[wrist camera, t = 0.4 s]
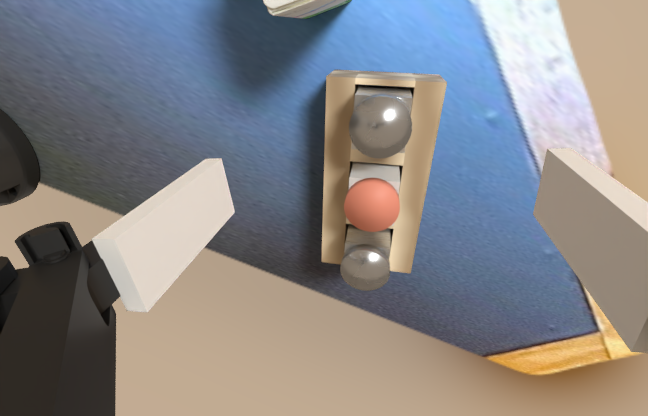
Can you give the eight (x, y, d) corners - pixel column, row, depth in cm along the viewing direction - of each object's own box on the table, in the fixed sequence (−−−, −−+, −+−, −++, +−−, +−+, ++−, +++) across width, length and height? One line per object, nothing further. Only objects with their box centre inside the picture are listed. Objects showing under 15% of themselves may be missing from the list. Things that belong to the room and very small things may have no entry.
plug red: (349, 199, 36) (342, 228, 31) (352, 156, 33) (345, 180, 28) (395, 204, 35) (395, 234, 30) (401, 160, 33) (403, 186, 28)
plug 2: (345, 252, 39) (339, 287, 34) (348, 217, 37) (341, 248, 32) (387, 257, 39) (386, 293, 33) (392, 222, 36) (392, 254, 31)
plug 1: (353, 135, 32) (347, 155, 27) (357, 82, 30) (350, 94, 25) (404, 139, 32) (407, 160, 27) (412, 85, 29) (416, 98, 24)
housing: (328, 237, 43) (321, 261, 39) (334, 69, 33) (326, 76, 29) (408, 247, 41) (410, 273, 37) (439, 74, 32) (446, 82, 27)
